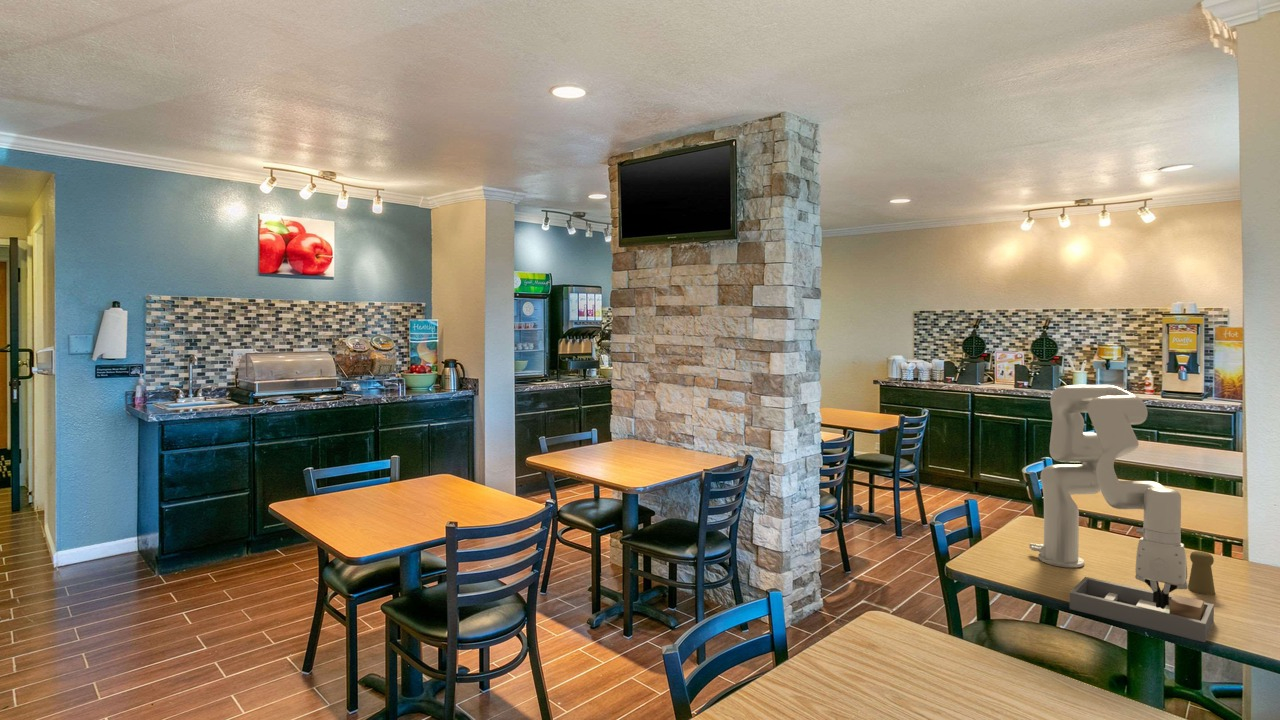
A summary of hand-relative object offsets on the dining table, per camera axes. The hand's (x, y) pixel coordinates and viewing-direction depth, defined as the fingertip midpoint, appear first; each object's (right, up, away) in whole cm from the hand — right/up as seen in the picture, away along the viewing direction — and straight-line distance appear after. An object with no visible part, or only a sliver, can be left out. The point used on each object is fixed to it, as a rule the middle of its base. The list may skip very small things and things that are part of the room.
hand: (1160, 606), depth 171 cm
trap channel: (-3, -4, +3) cm, 6 cm away
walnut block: (+4, -2, -4) cm, 5 cm away
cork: (+26, -3, +19) cm, 33 cm away
